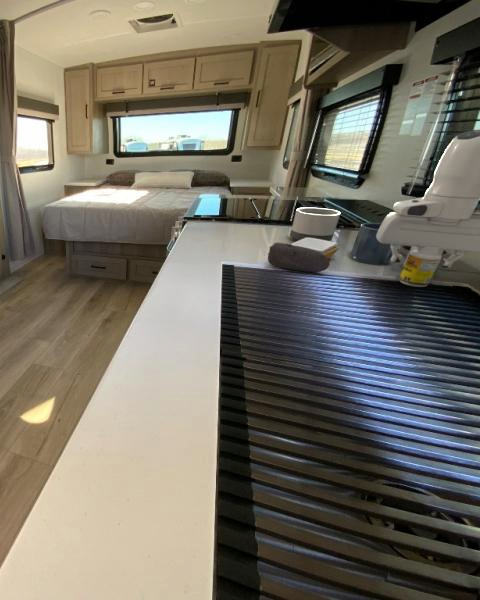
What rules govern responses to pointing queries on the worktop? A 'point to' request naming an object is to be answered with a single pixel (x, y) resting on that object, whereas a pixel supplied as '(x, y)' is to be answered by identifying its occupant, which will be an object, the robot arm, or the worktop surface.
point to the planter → (314, 223)
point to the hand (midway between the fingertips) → (418, 264)
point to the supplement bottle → (420, 266)
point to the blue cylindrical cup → (370, 246)
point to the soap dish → (318, 246)
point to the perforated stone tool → (297, 258)
